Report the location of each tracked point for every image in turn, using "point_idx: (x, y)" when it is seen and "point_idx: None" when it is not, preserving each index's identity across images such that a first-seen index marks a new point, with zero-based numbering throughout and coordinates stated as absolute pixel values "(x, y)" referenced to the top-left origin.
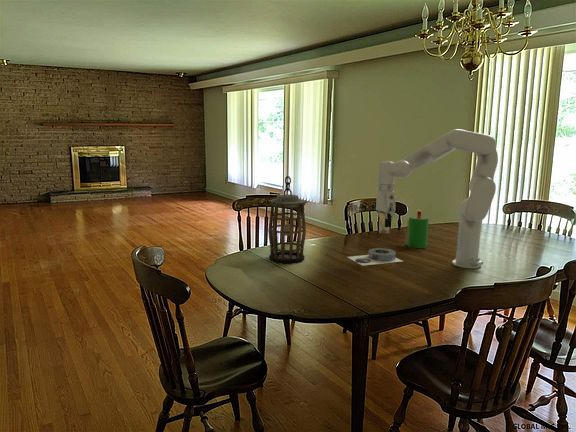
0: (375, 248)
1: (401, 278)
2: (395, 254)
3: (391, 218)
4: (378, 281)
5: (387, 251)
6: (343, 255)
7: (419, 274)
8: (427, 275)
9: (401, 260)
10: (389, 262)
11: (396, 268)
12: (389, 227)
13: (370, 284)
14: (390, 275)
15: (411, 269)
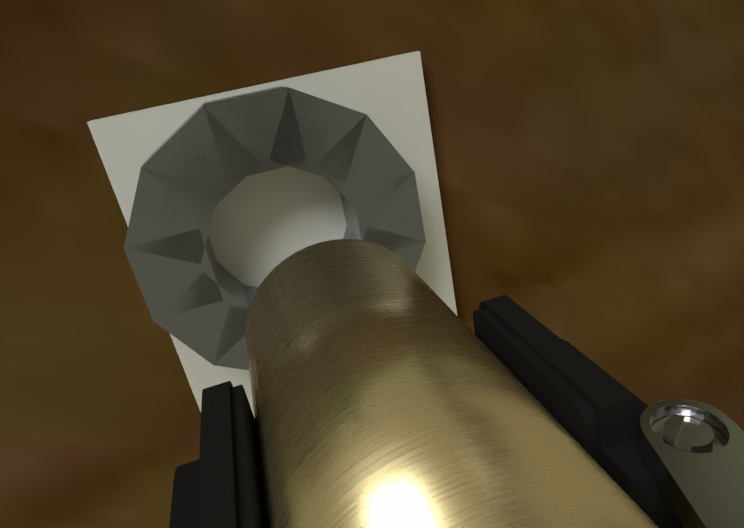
0: (139, 280)
1: (708, 222)
2: (366, 116)
3: (685, 413)
4: (700, 364)
5: (258, 171)
6: (118, 511)
7: (690, 58)
8: (725, 5)
9: (395, 62)
10: (436, 204)
11: (530, 178)
12: (442, 301)
13: (719, 409)
14: (644, 272)
15: (580, 63)
